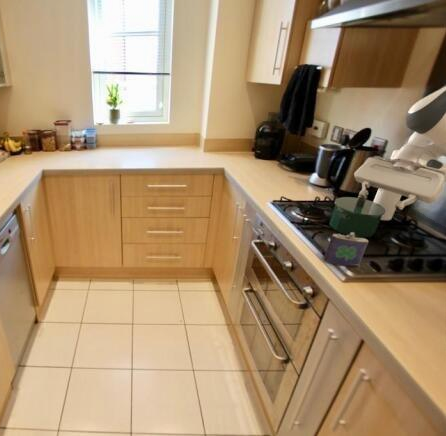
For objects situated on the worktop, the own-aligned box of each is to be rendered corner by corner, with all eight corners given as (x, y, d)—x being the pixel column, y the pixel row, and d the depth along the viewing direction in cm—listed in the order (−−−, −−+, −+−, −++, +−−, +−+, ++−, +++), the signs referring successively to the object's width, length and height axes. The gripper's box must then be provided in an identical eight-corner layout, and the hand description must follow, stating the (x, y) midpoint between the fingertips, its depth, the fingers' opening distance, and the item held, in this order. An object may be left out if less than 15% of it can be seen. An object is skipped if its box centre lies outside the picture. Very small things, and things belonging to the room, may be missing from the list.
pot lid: (393, 211, 108) (398, 199, 106) (369, 221, 102) (374, 208, 100) (349, 196, 120) (353, 185, 117) (325, 205, 114) (329, 193, 112)
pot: (386, 229, 113) (395, 208, 109) (355, 243, 105) (364, 221, 101) (347, 214, 124) (354, 194, 120) (316, 226, 116) (323, 205, 112)
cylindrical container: (382, 221, 118) (409, 156, 107) (364, 213, 124) (388, 151, 113) (396, 218, 120) (424, 154, 108) (377, 210, 126) (402, 149, 115)
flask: (357, 263, 95) (369, 233, 90) (360, 269, 93) (372, 238, 88) (322, 257, 99) (332, 227, 94) (324, 262, 96) (334, 232, 91)
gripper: (369, 148, 97) (340, 184, 97) (456, 167, 81) (420, 209, 81) (372, 160, 101) (344, 194, 101) (455, 180, 85) (421, 221, 85)
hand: (379, 201), depth 91 cm, fingers open, 8 cm apart
